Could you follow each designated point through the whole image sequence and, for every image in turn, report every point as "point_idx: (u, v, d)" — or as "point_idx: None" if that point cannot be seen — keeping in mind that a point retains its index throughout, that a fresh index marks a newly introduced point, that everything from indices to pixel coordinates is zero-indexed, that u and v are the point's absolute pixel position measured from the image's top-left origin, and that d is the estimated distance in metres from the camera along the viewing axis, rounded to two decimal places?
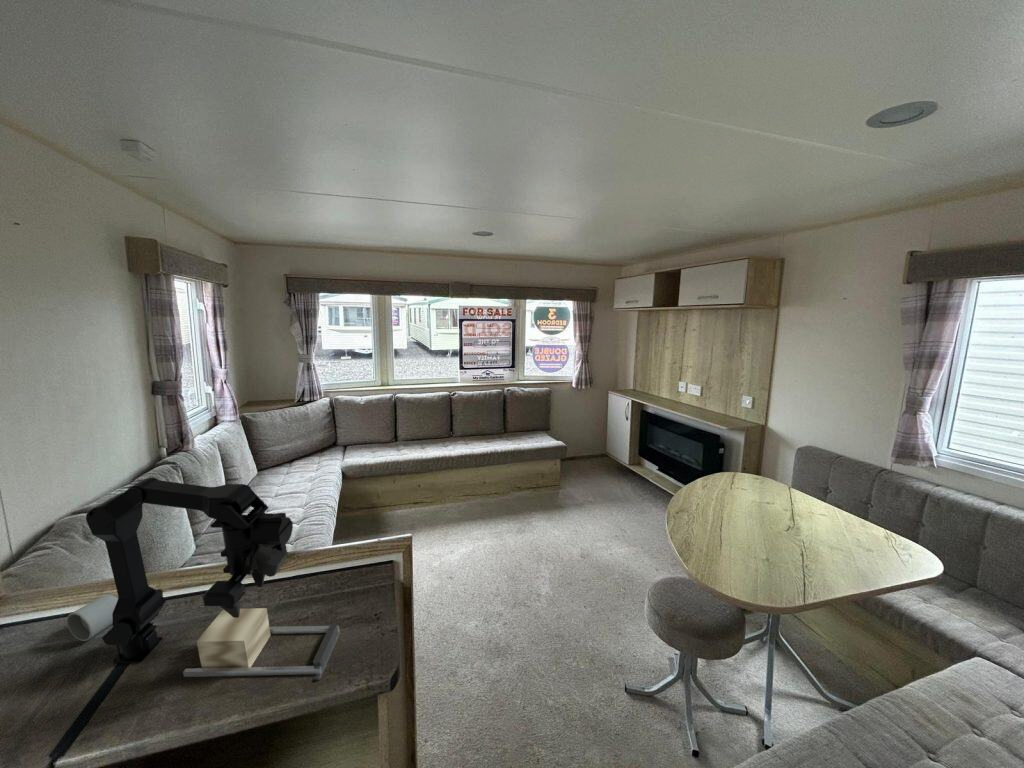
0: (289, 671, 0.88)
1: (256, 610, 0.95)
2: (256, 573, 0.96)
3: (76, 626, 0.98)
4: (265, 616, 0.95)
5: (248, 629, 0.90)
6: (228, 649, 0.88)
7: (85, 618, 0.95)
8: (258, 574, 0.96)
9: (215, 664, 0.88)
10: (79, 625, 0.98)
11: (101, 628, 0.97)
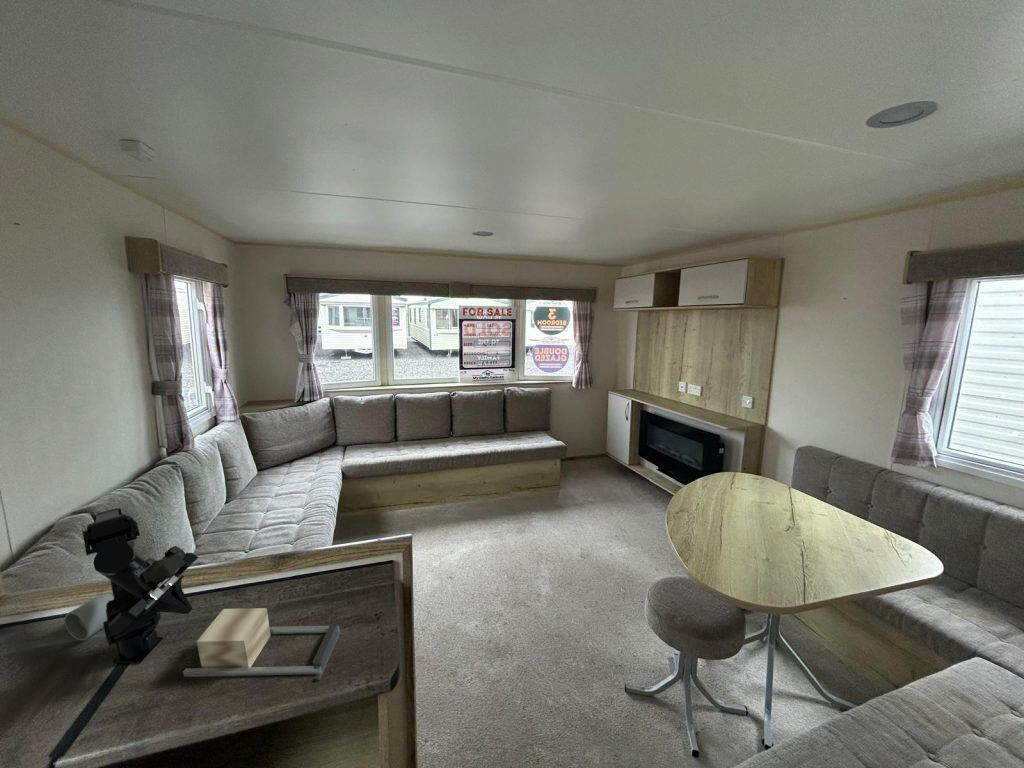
0: (289, 671, 0.88)
1: (256, 610, 0.95)
2: None
3: (74, 625, 0.98)
4: (265, 616, 0.95)
5: (248, 629, 0.90)
6: (228, 649, 0.88)
7: (83, 617, 0.95)
8: None
9: (215, 664, 0.88)
10: (76, 624, 0.98)
11: (99, 627, 0.98)
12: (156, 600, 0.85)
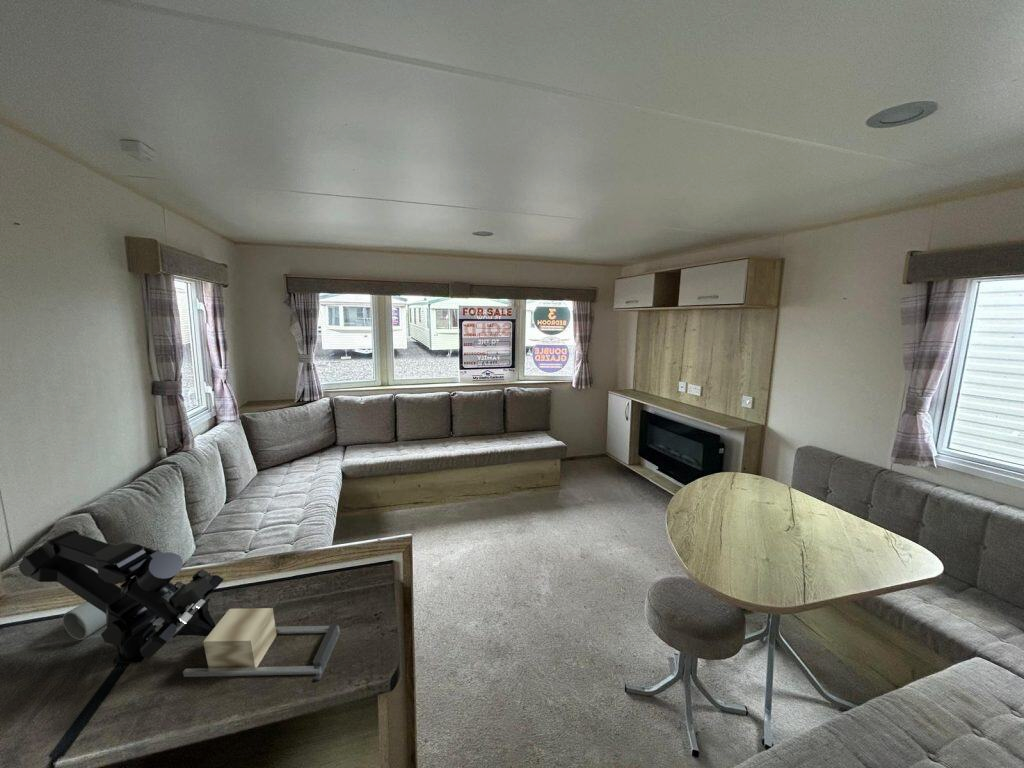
0: (289, 671, 0.88)
1: (262, 610, 0.95)
2: None
3: (72, 625, 0.98)
4: (271, 616, 0.96)
5: (255, 629, 0.90)
6: (234, 648, 0.88)
7: (81, 617, 0.95)
8: None
9: (222, 664, 0.89)
10: (75, 624, 0.99)
11: (97, 627, 0.98)
12: (185, 624, 0.86)
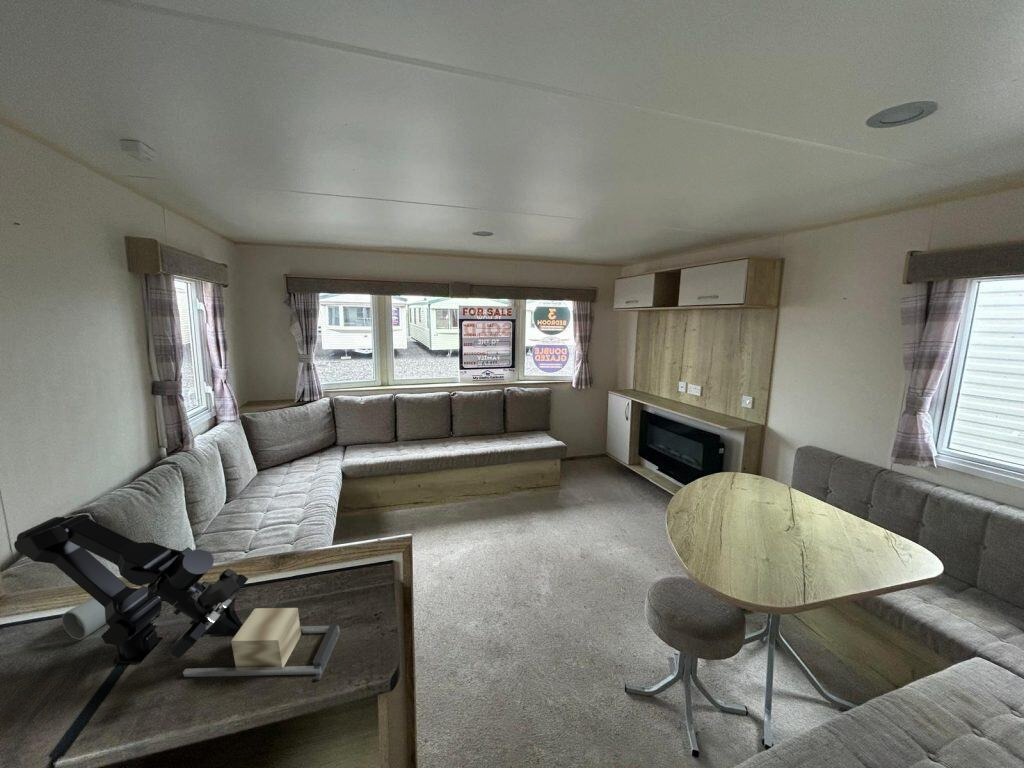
0: (289, 671, 0.88)
1: (287, 610, 0.96)
2: None
3: (71, 625, 0.98)
4: (296, 615, 0.96)
5: (281, 629, 0.90)
6: (262, 648, 0.88)
7: (80, 617, 0.95)
8: None
9: (249, 663, 0.89)
10: (74, 624, 0.99)
11: (96, 627, 0.98)
12: (213, 623, 0.87)
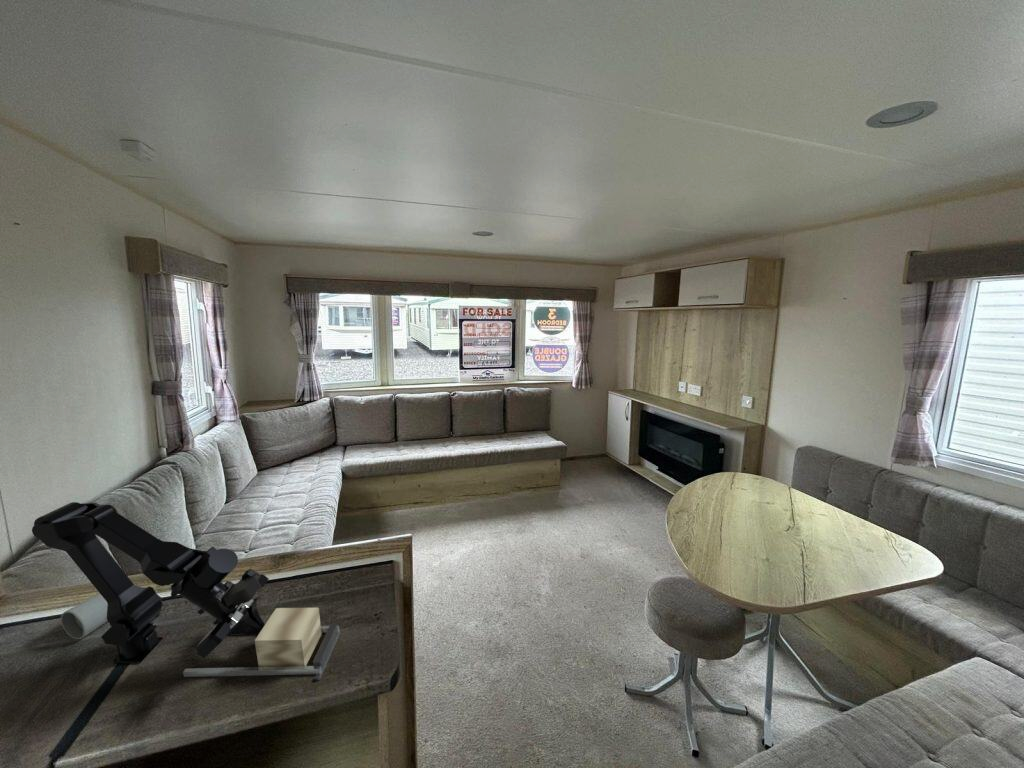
0: (289, 671, 0.88)
1: (308, 609, 0.96)
2: None
3: (70, 624, 0.98)
4: (317, 615, 0.96)
5: (304, 628, 0.91)
6: (285, 648, 0.88)
7: (79, 616, 0.95)
8: None
9: (272, 663, 0.89)
10: (73, 623, 0.99)
11: (95, 626, 0.98)
12: (237, 623, 0.87)
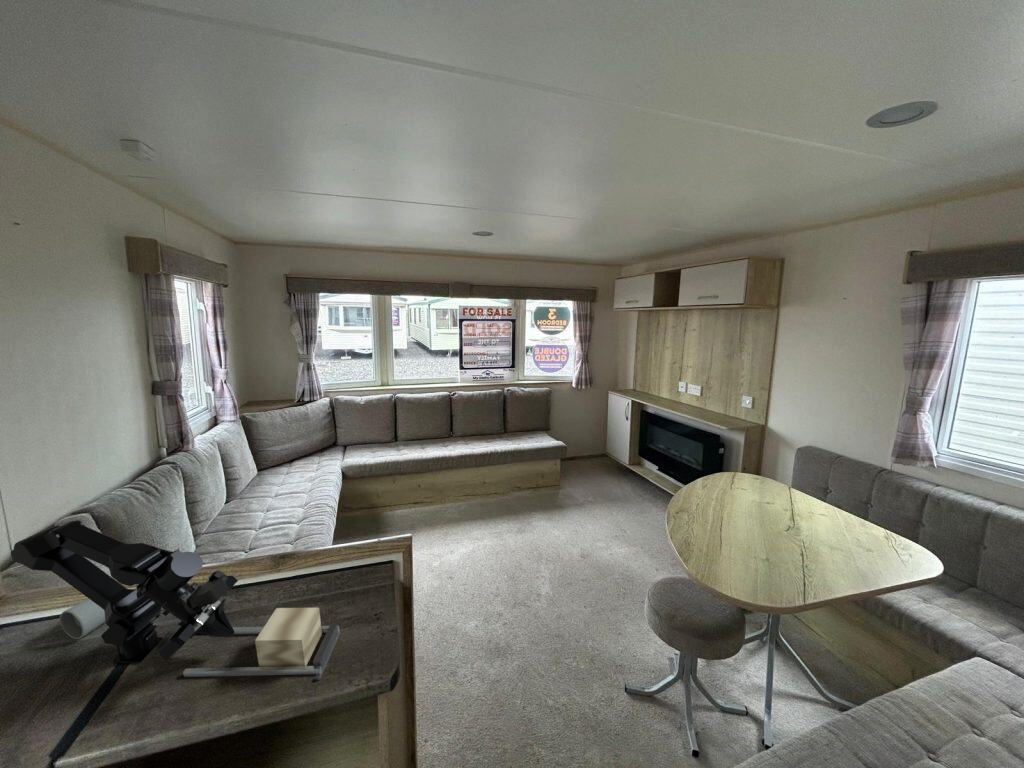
0: (289, 671, 0.88)
1: (309, 609, 0.96)
2: None
3: (69, 624, 0.98)
4: (318, 615, 0.96)
5: (304, 628, 0.91)
6: (285, 648, 0.88)
7: (78, 616, 0.95)
8: None
9: (272, 663, 0.89)
10: (72, 623, 0.99)
11: (94, 626, 0.98)
12: (202, 625, 0.87)
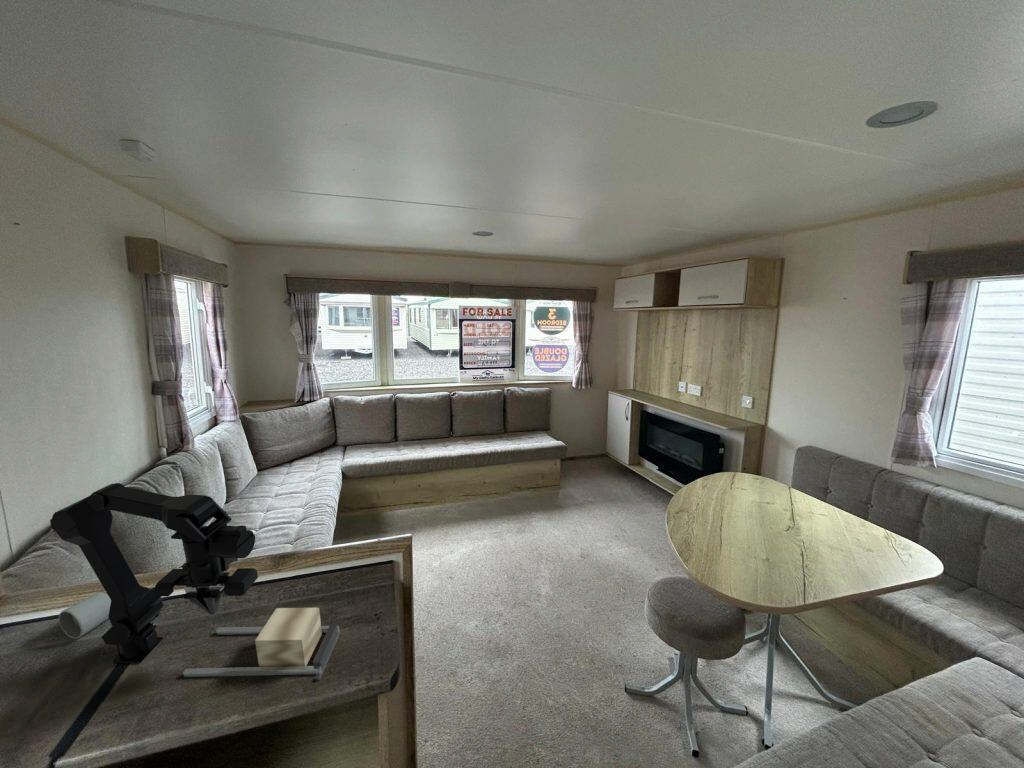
0: (289, 671, 0.88)
1: (309, 609, 0.96)
2: None
3: (68, 624, 0.98)
4: (318, 615, 0.96)
5: (304, 628, 0.91)
6: (285, 648, 0.88)
7: (76, 616, 0.95)
8: None
9: (272, 663, 0.89)
10: (71, 623, 0.99)
11: (92, 626, 0.98)
12: None
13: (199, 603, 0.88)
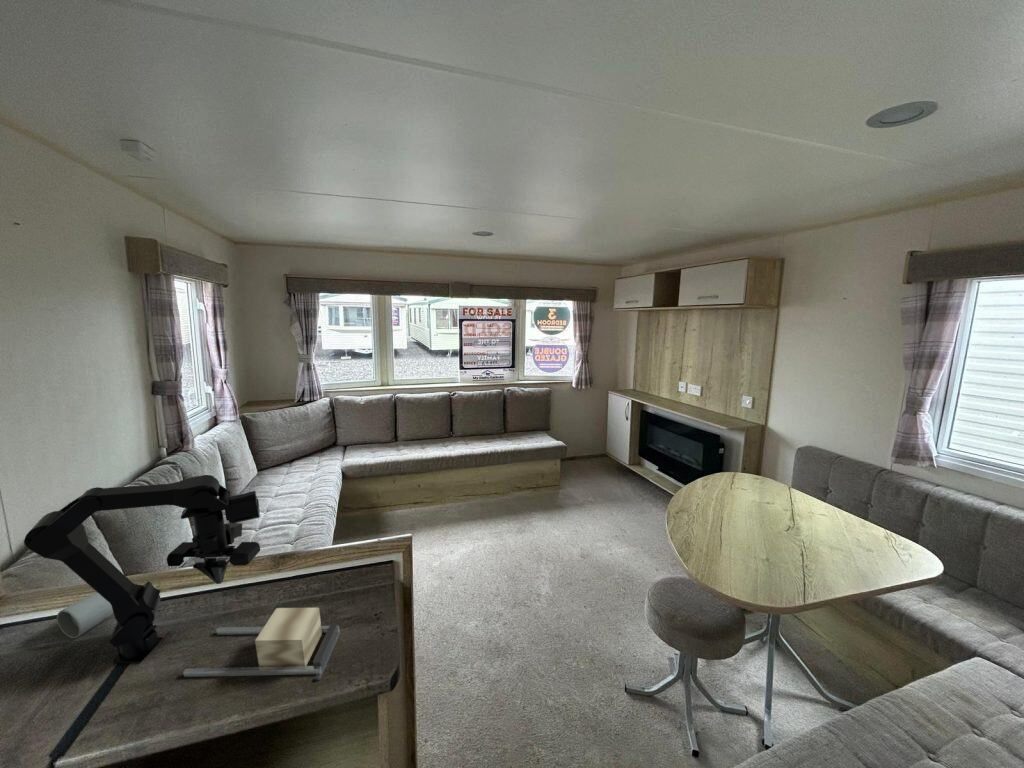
0: (289, 671, 0.88)
1: (309, 609, 0.96)
2: None
3: (66, 623, 0.99)
4: (318, 615, 0.96)
5: (304, 628, 0.91)
6: (285, 648, 0.88)
7: (74, 615, 0.95)
8: None
9: (272, 663, 0.89)
10: (69, 622, 0.99)
11: (91, 625, 0.98)
12: None
13: (207, 573, 0.97)
